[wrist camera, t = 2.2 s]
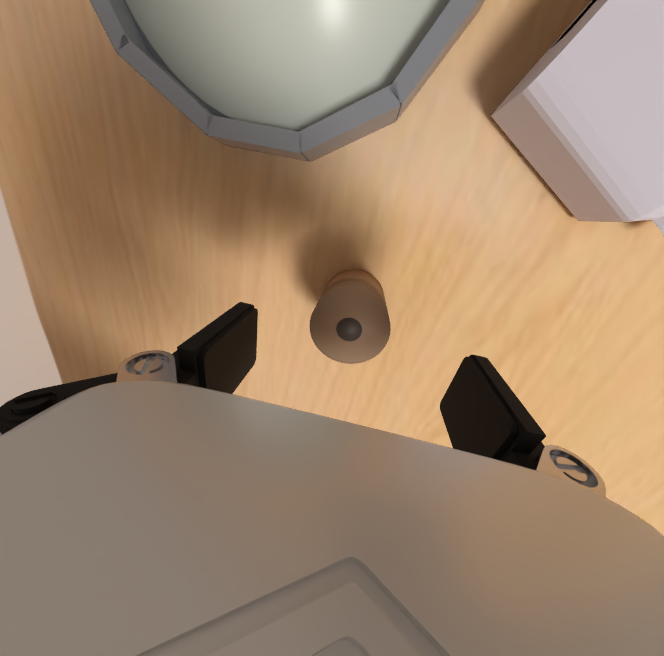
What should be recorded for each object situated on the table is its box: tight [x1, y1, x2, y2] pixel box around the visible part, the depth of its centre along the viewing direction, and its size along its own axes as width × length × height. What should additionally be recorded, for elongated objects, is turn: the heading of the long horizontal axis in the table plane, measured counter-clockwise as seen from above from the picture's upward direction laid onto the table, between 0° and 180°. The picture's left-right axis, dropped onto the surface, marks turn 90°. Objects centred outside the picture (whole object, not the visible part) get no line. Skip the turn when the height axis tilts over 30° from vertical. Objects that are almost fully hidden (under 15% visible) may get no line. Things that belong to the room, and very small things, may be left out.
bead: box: [310, 270, 390, 364], centre depth 18 cm, size 5×5×6 cm
